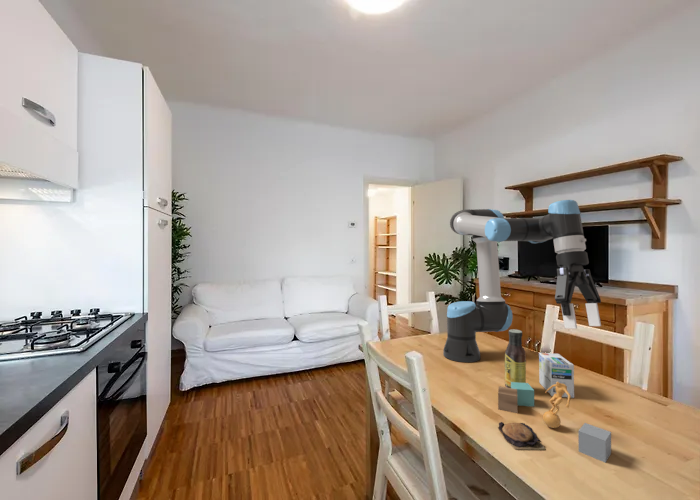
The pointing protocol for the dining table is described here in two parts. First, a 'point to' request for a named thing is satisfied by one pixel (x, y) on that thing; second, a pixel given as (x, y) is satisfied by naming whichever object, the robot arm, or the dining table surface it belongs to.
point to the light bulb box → (556, 372)
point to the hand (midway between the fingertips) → (583, 327)
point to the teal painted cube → (524, 394)
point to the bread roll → (520, 436)
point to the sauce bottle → (515, 359)
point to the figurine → (555, 405)
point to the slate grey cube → (595, 442)
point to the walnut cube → (507, 399)
